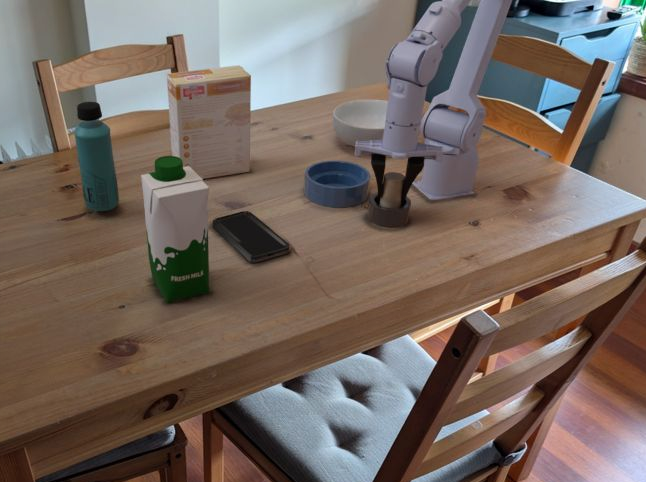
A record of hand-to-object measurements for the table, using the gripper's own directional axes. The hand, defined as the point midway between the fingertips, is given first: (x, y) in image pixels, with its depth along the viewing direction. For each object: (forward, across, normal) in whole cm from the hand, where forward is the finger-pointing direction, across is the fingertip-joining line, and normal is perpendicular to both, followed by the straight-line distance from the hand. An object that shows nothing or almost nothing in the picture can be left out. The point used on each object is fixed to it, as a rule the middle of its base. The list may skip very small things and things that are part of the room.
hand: (391, 195), depth 122 cm
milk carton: (+5, -32, -28) cm, 43 cm away
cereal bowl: (+5, -4, +35) cm, 35 cm away
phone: (+5, -24, -11) cm, 26 cm away
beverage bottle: (+5, -52, -5) cm, 53 cm away
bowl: (+5, -10, +8) cm, 14 cm away
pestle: (+4, 0, 0) cm, 4 cm away
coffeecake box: (+5, -36, +15) cm, 39 cm away
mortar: (+5, 0, 0) cm, 5 cm away
